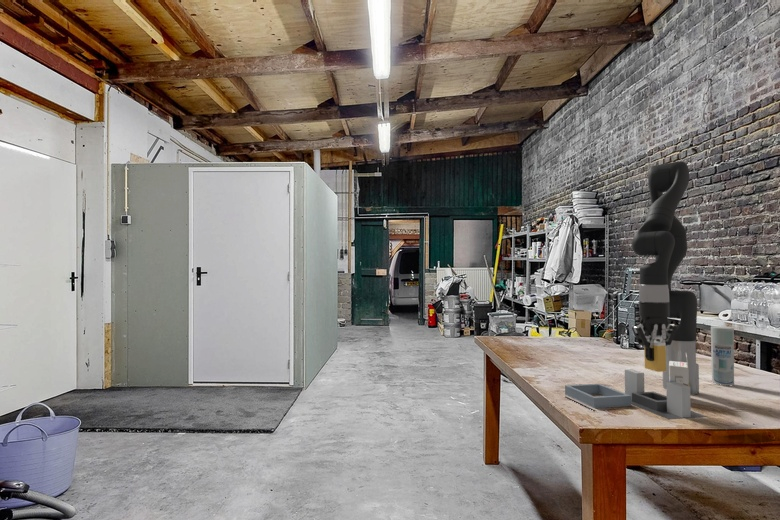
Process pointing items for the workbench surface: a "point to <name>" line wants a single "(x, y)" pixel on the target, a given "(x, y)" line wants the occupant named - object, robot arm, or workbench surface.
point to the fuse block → (660, 397)
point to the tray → (607, 400)
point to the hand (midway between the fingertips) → (654, 360)
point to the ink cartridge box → (679, 372)
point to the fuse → (657, 358)
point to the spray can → (722, 355)
